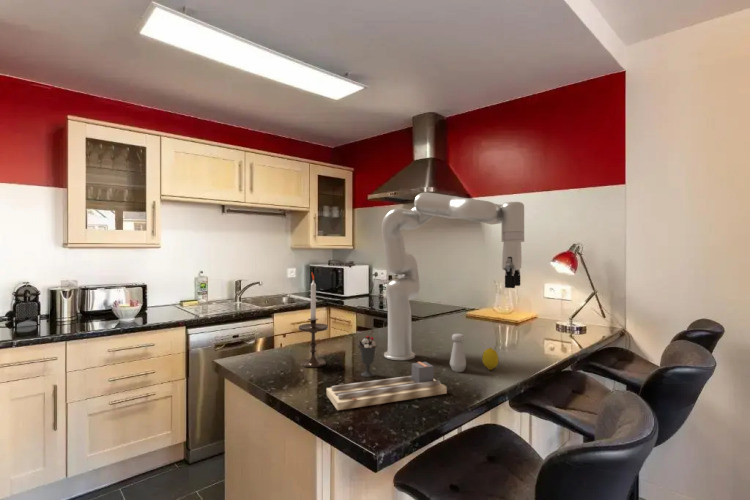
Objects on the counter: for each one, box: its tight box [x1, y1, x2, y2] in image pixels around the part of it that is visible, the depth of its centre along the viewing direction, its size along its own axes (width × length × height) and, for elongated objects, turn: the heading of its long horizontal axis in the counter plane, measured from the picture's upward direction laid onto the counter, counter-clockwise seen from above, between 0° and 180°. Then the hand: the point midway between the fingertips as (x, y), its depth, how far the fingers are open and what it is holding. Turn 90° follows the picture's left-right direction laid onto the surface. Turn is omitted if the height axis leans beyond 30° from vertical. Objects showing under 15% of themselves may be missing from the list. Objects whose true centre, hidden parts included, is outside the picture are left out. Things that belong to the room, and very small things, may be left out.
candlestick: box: [298, 272, 329, 369], centre depth 145 cm, size 11×11×35 cm
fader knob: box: [411, 361, 435, 383], centre depth 120 cm, size 5×5×5 cm
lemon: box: [481, 347, 499, 371], centre depth 139 cm, size 6×6×8 cm
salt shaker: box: [449, 333, 467, 373], centre depth 138 cm, size 6×6×13 cm
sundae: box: [358, 330, 378, 378], centre depth 133 cm, size 7×7×15 cm
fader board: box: [325, 375, 448, 411], centre depth 115 cm, size 34×12×3 cm, turn 111°
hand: (512, 286), depth 134 cm, fingers open, 9 cm apart
